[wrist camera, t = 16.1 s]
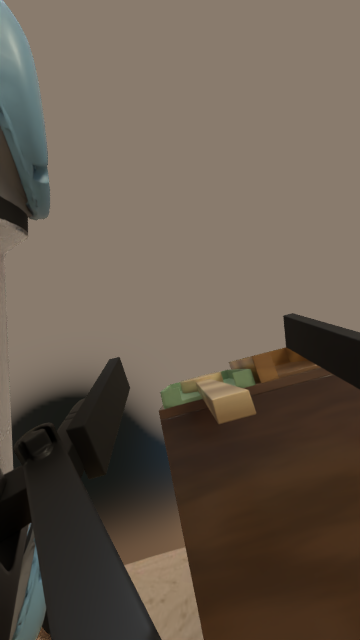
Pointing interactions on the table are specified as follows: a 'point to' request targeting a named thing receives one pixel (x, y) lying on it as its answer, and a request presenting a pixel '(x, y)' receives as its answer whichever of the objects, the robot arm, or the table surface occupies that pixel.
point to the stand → (272, 510)
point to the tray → (176, 397)
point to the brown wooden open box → (274, 365)
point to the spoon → (221, 397)
